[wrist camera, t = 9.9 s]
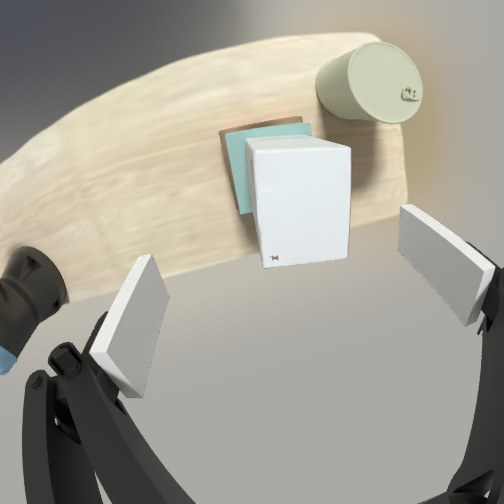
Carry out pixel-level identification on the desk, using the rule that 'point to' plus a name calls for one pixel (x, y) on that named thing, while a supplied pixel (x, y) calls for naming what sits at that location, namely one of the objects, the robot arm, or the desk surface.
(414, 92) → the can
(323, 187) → the small box
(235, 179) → the top slab
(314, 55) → the desk surface
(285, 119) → the bottom slab
